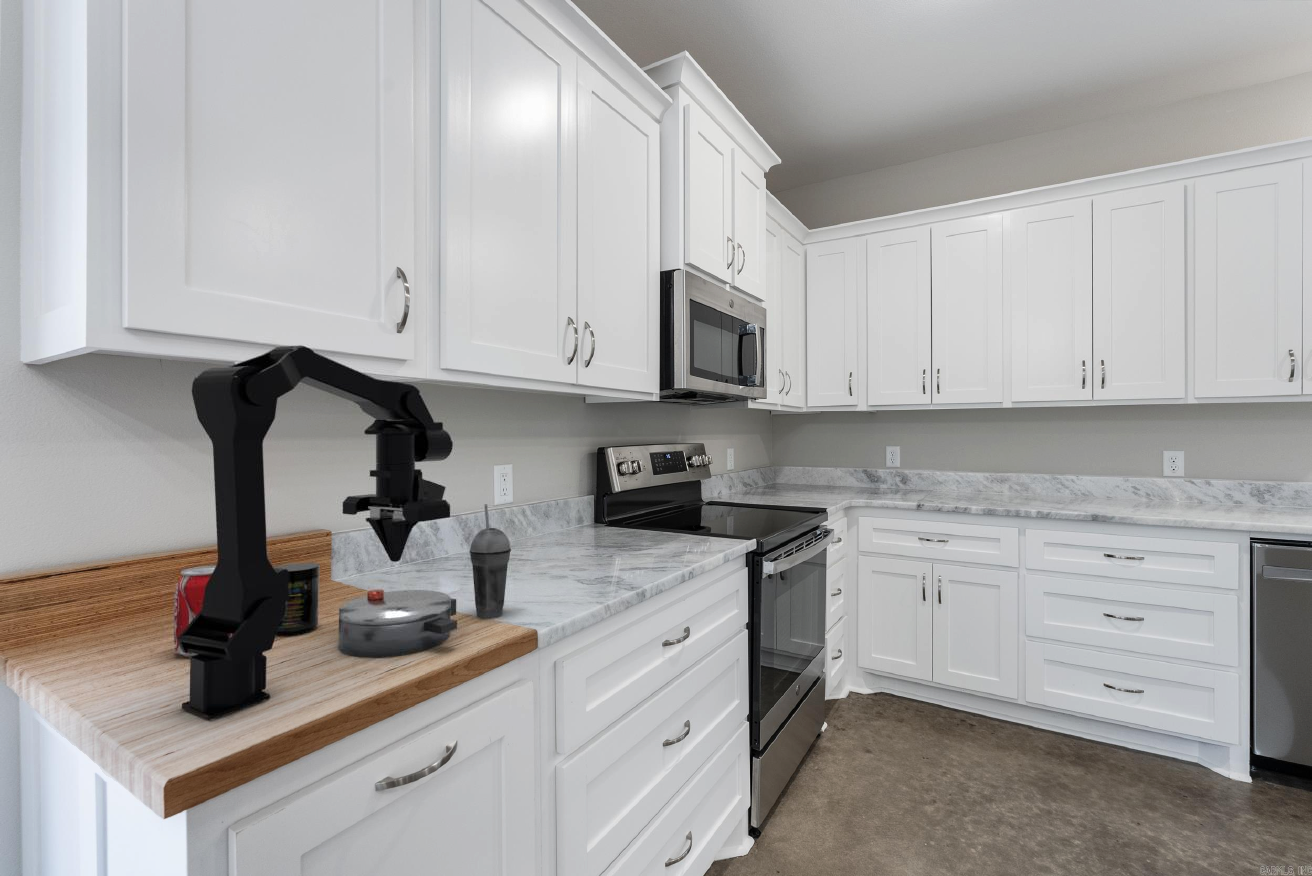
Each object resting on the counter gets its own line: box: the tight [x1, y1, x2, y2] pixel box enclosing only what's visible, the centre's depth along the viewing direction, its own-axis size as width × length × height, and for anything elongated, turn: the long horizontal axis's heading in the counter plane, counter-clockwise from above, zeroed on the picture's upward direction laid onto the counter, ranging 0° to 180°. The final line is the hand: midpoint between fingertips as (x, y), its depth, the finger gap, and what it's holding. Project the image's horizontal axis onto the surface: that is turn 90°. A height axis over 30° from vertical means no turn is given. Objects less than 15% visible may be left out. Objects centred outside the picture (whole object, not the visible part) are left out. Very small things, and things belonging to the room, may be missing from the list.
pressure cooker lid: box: [338, 589, 452, 625], centre depth 92 cm, size 16×16×2 cm
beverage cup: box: [468, 503, 512, 620], centre depth 106 cm, size 7×7×20 cm
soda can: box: [173, 564, 233, 658], centre depth 86 cm, size 7×7×12 cm
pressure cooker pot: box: [338, 597, 458, 659], centre depth 93 cm, size 18×23×4 cm
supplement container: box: [273, 562, 321, 637], centre depth 96 cm, size 7×7×10 cm
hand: (395, 561), depth 94 cm, fingers closed
